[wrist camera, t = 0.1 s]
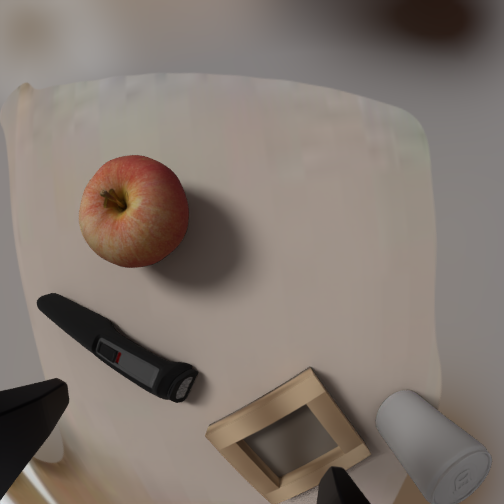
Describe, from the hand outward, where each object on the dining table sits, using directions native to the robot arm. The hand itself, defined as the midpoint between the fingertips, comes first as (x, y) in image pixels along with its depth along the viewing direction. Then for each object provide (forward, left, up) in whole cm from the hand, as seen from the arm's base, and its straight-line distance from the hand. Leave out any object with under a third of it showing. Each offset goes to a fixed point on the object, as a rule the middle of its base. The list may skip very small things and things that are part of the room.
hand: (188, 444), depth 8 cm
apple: (0, +12, -16) cm, 20 cm away
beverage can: (+8, -14, -16) cm, 22 cm away
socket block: (-1, -10, -15) cm, 19 cm away
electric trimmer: (-9, +5, -16) cm, 19 cm away
